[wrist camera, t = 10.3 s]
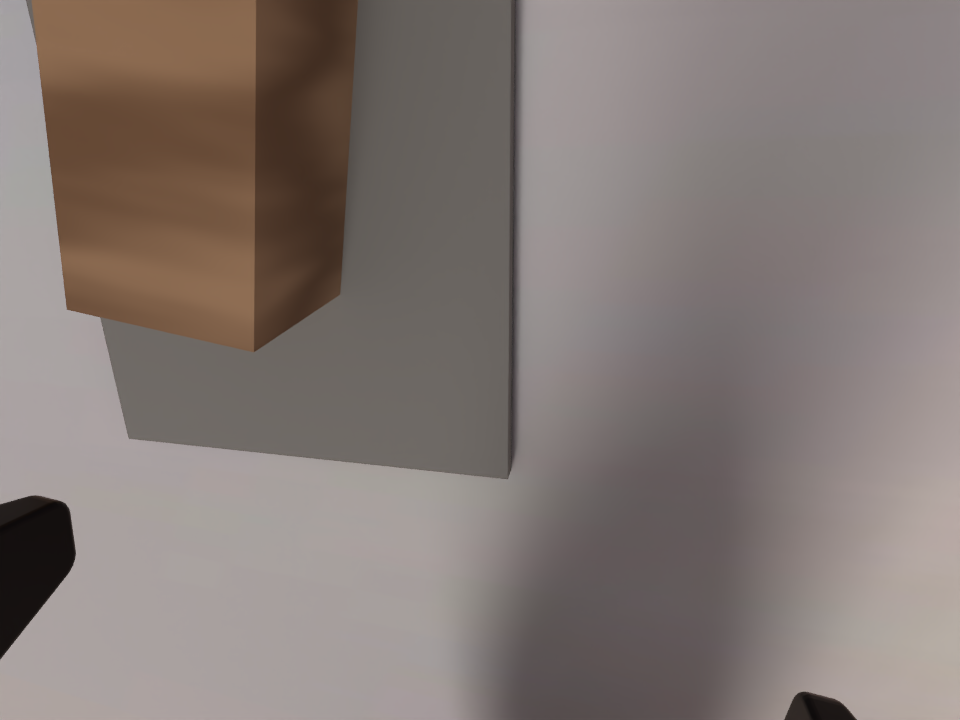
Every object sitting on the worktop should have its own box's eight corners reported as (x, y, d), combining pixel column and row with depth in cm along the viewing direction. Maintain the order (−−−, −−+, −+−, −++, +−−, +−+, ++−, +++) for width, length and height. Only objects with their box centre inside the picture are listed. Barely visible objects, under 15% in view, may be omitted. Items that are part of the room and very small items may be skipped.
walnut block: (253, 352, 15) (258, -405, 10) (66, 309, 16) (-16, -421, 11) (339, 294, 20) (373, -251, 15) (191, 263, 21) (173, -268, 15)
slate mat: (510, 469, 22) (507, 479, 21) (140, 431, 24) (128, 438, 24) (520, -602, 13) (515, -633, 12) (-64, -469, 16) (-89, -490, 15)
